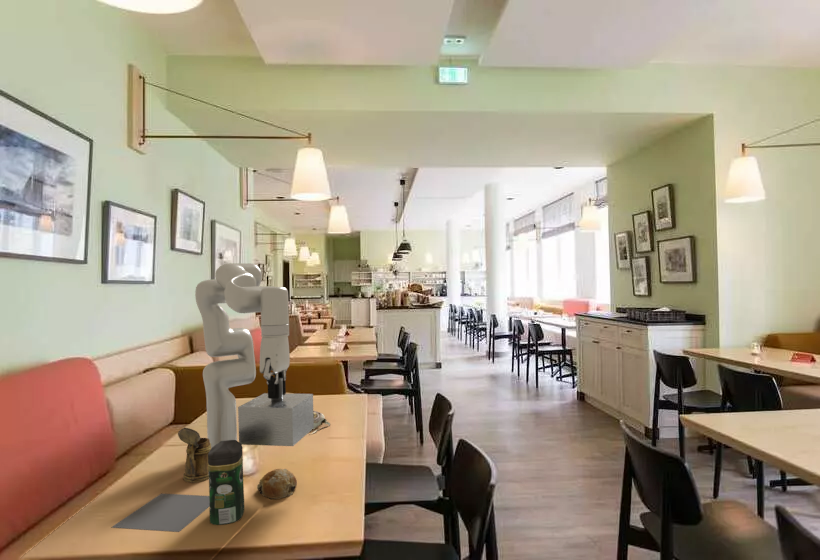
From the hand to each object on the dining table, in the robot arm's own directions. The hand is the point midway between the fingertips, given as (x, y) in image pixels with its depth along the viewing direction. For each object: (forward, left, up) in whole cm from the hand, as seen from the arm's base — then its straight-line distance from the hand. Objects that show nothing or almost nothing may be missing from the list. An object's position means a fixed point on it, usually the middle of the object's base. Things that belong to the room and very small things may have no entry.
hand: (277, 395), depth 133 cm
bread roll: (-1, 0, -27) cm, 27 cm away
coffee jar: (-7, -15, -27) cm, 32 cm away
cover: (0, 0, -11) cm, 11 cm away
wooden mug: (-28, +4, -27) cm, 39 cm away
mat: (-23, -15, -27) cm, 38 cm away
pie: (-19, +58, -28) cm, 67 cm away
